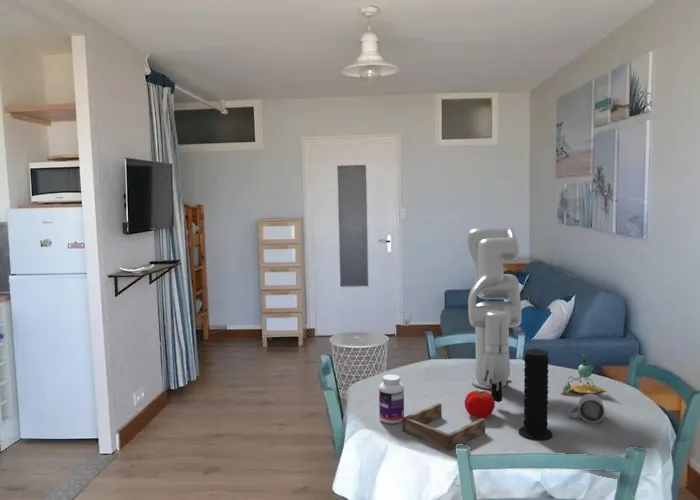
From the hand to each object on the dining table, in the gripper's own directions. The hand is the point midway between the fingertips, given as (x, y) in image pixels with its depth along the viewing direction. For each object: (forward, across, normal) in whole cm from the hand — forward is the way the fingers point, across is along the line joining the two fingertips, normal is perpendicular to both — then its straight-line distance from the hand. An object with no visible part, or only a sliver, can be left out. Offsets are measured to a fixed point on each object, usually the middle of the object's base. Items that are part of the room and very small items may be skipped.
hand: (496, 400), depth 195 cm
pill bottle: (+3, +32, -18) cm, 37 cm away
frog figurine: (+3, -35, +12) cm, 37 cm away
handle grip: (+3, +8, +20) cm, 22 cm away
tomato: (+3, +9, 0) cm, 10 cm away
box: (+3, +27, 0) cm, 27 cm away
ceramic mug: (+3, -13, +25) cm, 28 cm away
